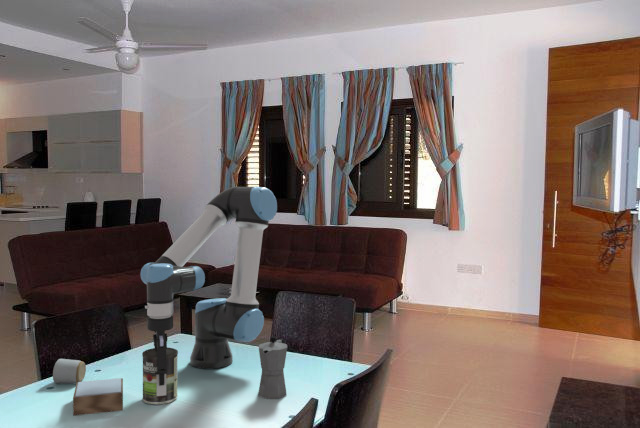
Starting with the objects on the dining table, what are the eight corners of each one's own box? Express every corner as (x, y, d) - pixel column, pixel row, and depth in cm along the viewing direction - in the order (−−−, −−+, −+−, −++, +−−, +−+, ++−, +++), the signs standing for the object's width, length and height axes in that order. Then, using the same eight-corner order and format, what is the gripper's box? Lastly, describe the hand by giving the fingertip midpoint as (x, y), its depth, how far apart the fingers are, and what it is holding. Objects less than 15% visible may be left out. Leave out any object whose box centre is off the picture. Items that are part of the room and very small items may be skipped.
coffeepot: (278, 403, 167) (279, 343, 166) (249, 399, 170) (250, 340, 169) (296, 386, 182) (297, 331, 181) (269, 382, 185) (270, 328, 184)
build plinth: (122, 394, 172) (122, 377, 172) (122, 410, 160) (122, 391, 160) (76, 399, 168) (76, 381, 168) (73, 415, 156) (73, 396, 156)
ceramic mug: (78, 386, 178) (78, 362, 178) (52, 386, 178) (52, 362, 178) (90, 376, 189) (90, 353, 189) (65, 376, 189) (66, 353, 189)
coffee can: (163, 406, 163) (163, 358, 162) (135, 401, 167) (134, 354, 166) (184, 394, 172) (184, 349, 172) (157, 390, 176) (157, 345, 175)
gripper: (145, 308, 178) (145, 378, 179) (148, 325, 156) (148, 404, 157) (170, 307, 180) (170, 375, 181) (176, 323, 159) (176, 401, 160)
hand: (160, 389), depth 169 cm, fingers closed on coffee can, 10 cm apart
